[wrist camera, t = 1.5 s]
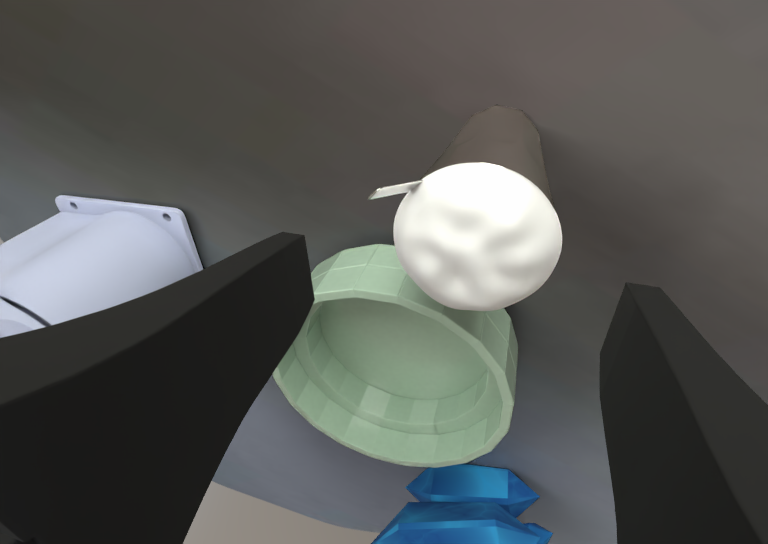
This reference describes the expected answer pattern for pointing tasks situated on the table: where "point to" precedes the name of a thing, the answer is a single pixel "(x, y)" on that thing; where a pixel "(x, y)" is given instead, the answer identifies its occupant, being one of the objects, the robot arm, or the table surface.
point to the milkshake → (480, 216)
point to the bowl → (399, 365)
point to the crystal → (465, 509)
